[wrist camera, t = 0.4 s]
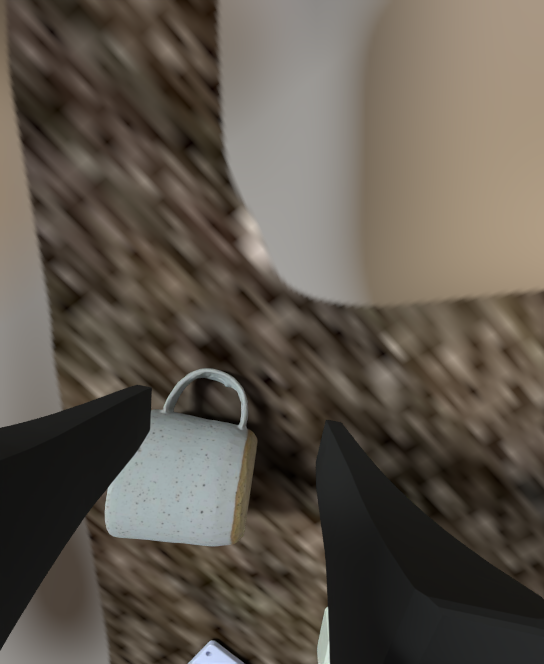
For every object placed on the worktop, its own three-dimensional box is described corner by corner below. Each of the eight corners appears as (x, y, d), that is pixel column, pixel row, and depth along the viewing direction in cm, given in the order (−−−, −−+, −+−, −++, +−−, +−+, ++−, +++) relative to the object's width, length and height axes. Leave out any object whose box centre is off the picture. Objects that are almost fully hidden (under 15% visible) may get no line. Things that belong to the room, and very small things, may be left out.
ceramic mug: (253, 496, 23) (235, 593, 15) (158, 480, 23) (93, 568, 16) (268, 372, 22) (257, 410, 14) (168, 358, 22) (103, 388, 14)
